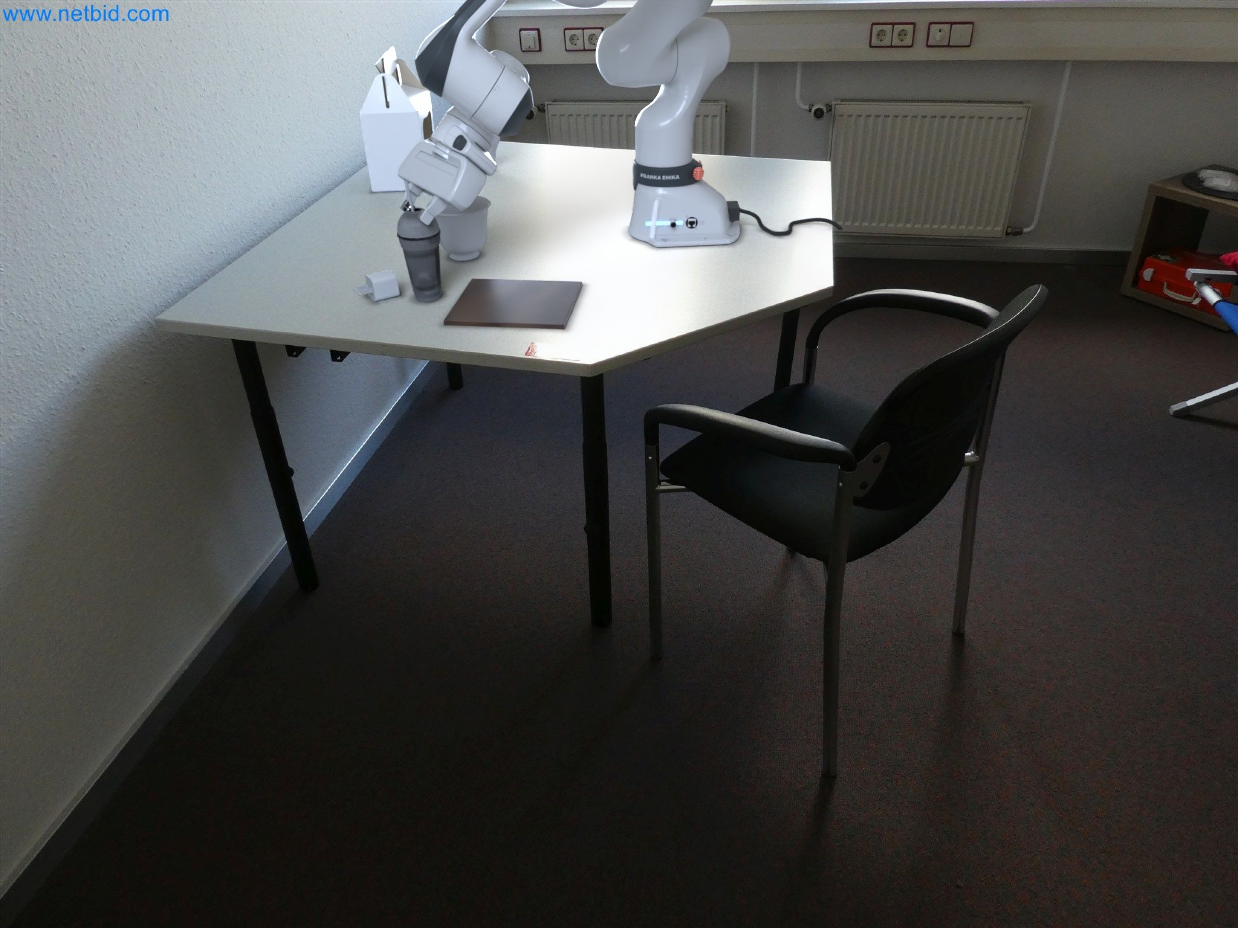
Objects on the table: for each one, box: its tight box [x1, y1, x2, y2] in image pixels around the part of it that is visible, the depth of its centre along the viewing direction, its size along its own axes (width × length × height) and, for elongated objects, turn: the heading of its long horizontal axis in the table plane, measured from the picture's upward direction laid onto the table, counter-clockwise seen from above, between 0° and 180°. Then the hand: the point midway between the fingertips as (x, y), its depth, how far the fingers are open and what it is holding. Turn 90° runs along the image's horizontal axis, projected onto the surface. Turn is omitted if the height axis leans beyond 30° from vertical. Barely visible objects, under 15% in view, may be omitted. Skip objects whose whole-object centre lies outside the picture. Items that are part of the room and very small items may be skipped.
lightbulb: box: [488, 135, 501, 163], centre depth 219 cm, size 6×6×11 cm
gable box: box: [358, 46, 435, 193], centre depth 210 cm, size 22×13×28 cm, turn 4°
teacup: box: [425, 195, 492, 262], centre depth 170 cm, size 12×15×10 cm
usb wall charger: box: [353, 268, 400, 303], centre depth 156 cm, size 4×7×4 cm, turn 123°
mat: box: [443, 278, 583, 330], centre depth 154 cm, size 20×18×1 cm
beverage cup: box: [396, 181, 442, 303], centre depth 152 cm, size 7×7×20 cm
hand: (413, 217), depth 149 cm, fingers closed on beverage cup, 5 cm apart
